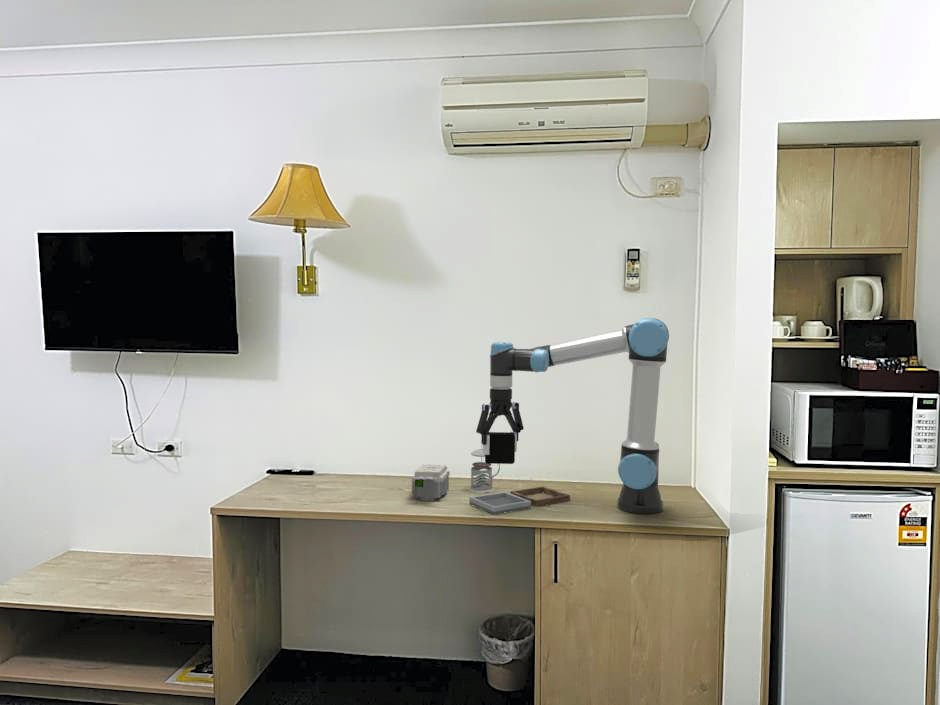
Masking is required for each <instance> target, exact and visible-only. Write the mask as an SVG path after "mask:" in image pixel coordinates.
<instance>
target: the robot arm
mask: <svg viewBox="0 0 940 705" xmlns="http://www.w3.org/2000/svg"><path fill="white" fill-rule="evenodd" d="M669 340H670V333H669V329H668V326H667V325H666V324H665V323H664V322H663V321H661V320H660V319H658V318H654V317H645V318H644V317H643V318H641V319H639V320H638V321H636V322H635V323H633V324H628V325H624V326H623V328H622V329H619V330H614V331H610V332H605V333H600V334H595V335H590V336H585V337H581V338H576V339H571V340H567V341H562V342H556V343H552V344H547V345H542V346H536V347H532V348H515V347H514V344H513V342H507V341H506V342H504V341H496V342H492V343H491V346H490V355H489V360H490V361H489V364H490V365H489V366H490V368H489V369H490V370H489V371H490V373H489V374H490V375H489V386H490V387H491V388H490V389H489V399H490V402H489V404H486V403H483V404H481V413H480V416H479V420H478V424H477V428H476V432H475V433H477V434H479V435H481V441H480V443H481V445H482V449H483V454H486V455H489V442H490V435H487V434H488V432H490V430H491V428H492V427H493V424H494V423H495V421H496V419H498V416H499V417H501V416H504V417H505V418H506V420H507V422H508V424H509V426H510V429H511V430H512V431H510V432H511V433H514V435H515V453H516V452H518V451H517V449H518V448H517V447H518V446H517V444H518V442H519V434H520V433H521V431H523V430H524V424H523V420H522V416H521V413H520V403H519V402H517V401H513V402H512V399H513V389H512V387H513V372H534V373H543V372H544V373H545V372H547V370H548V369H549V367H551V368H552V367H554V366H561V365H565V364H569V363H571V364H572V363H574V362H580V361H584V360H591V359H595V358H601V357H606V356H612V355H615V354H616V355H617V354H621V353H628V361H629V363H631V364H632V373H631V385H630V394H629V395H630V397H629V398H630V399H629V410H628V422H627V433H626V434H627V435H626V439H625V440H624V441H622V442H621V446H620V447H621V448H620V460H619V464H618V468H617V474H618V476H619V479H620V480H621V482H622V487H621V489H620V494H619V497H618V498H617V502H616V503H617V504H616V505H617V508H618V509H619V510H621V511H624V512H627V513H632V514H633V513H634V514H641V513H642V514H643V513H644V514H645V515H646V514H648V513H651V514H657V513H661V512H662V511H663V510H664V502H663V500H662V497H661V492H660V488H659V472H660V471H659V467H660V466H659V464H660V461H659V460H660V451H661V450H660V446H659V445H660V444H659V443H658V442H656V440H655V436H656V427H657V426H656V425H657V412H658V405H659V404H658V403H659V402H658V401H659V391H660V390H659V389H660V377H661V369H662V368H661V367H662V366H663V365H664V364H666V362H667V356H668V355H667V354H668V353H667V352H668V345H669V344H668V343H669ZM511 411H512V412H511ZM648 515H649V514H648Z"/></svg>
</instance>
